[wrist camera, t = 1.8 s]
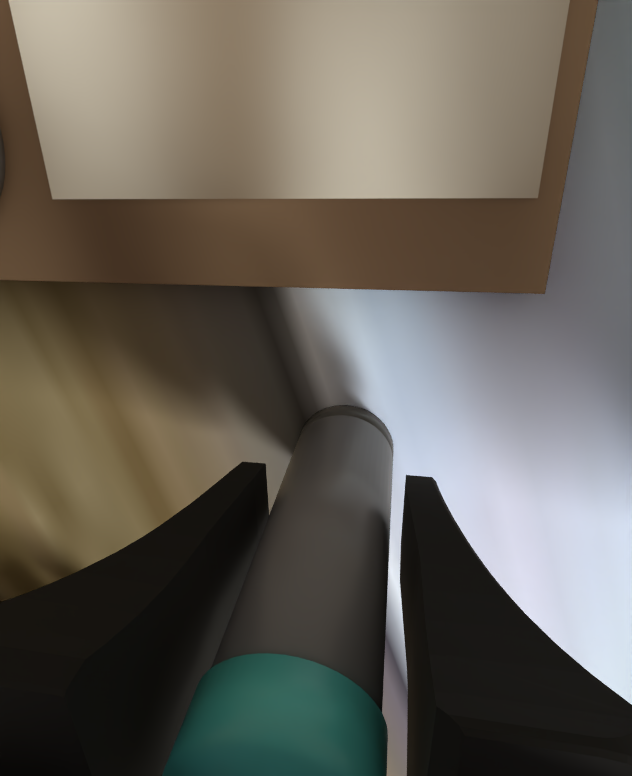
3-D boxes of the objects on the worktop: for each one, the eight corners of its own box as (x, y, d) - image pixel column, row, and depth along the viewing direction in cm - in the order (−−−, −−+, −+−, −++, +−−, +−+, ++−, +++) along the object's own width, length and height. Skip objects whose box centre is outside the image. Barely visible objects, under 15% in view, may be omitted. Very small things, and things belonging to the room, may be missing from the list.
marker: (399, 405, 14) (389, 767, 6) (394, 493, 15) (379, 894, 7) (294, 399, 14) (143, 725, 6) (297, 484, 16) (176, 851, 7)
